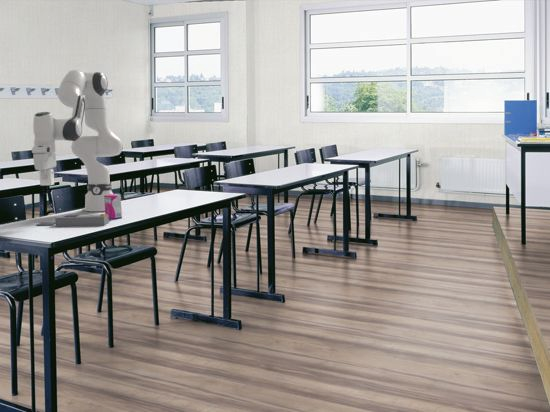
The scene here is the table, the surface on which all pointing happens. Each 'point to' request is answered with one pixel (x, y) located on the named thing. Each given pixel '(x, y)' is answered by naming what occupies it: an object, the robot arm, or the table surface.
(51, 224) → the mat
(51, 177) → the charger
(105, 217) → the grey flat block
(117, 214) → the supplement box
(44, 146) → the robot arm
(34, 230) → the table surface
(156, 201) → the table surface
